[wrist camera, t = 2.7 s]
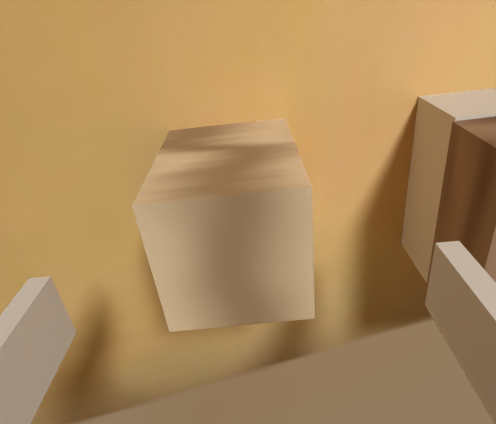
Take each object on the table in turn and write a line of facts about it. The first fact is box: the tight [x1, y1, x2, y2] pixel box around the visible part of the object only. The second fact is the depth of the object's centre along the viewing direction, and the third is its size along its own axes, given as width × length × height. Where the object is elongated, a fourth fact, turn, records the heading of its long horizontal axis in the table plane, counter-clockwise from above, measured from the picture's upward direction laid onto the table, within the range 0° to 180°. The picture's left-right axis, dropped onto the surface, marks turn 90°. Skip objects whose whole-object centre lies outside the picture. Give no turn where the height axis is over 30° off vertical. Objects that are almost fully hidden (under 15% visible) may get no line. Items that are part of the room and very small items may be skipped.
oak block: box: [132, 118, 315, 332], centre depth 17 cm, size 6×6×8 cm
